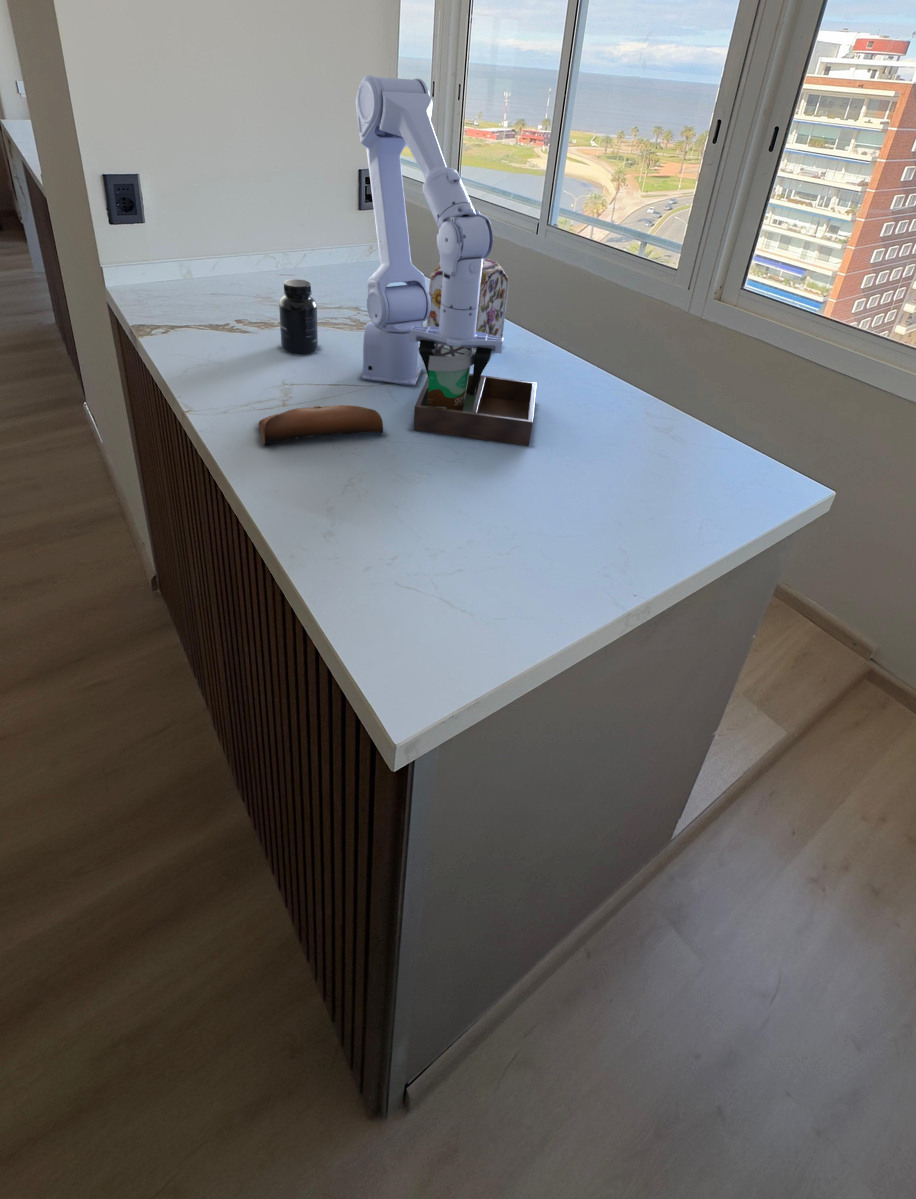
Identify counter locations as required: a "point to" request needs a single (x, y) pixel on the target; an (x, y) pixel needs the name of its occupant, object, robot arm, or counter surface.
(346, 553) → the counter surface
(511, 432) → the organiser tray
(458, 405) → the food container
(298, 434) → the sunglasses case
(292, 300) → the supplement bottle
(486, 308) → the decorative jar
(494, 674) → the counter surface
